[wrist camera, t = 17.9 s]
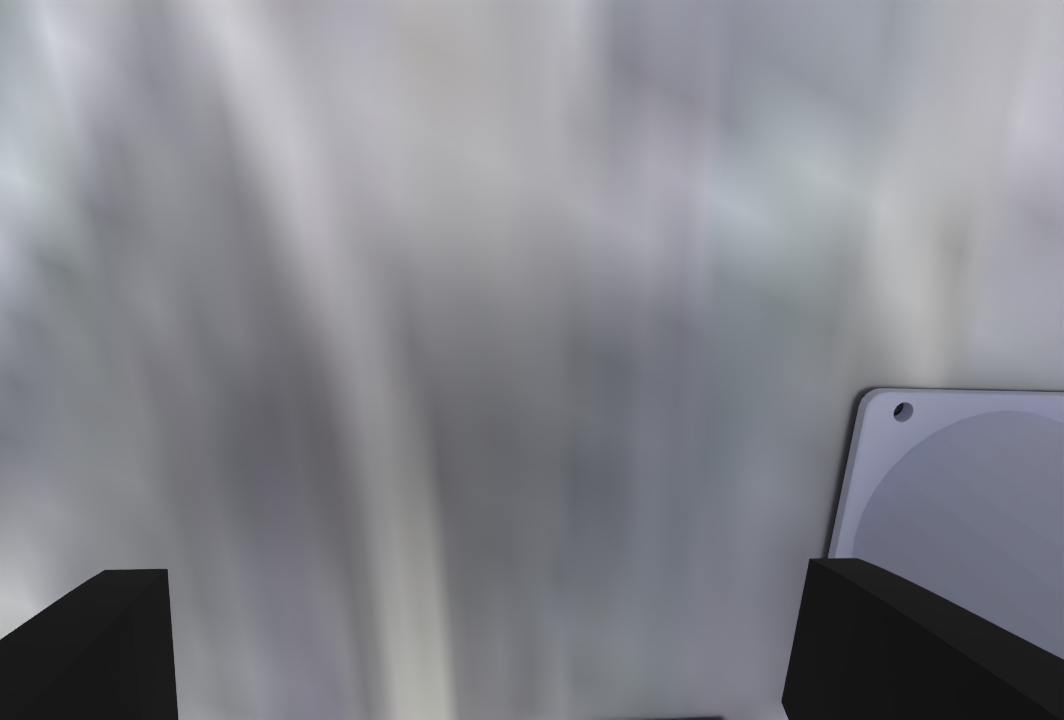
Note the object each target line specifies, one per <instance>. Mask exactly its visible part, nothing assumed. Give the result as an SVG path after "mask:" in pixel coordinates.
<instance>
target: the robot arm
mask: <svg viewBox="0 0 1064 720" xmlns="http://www.w3.org/2000/svg"><path fill="white" fill-rule="evenodd" d="M900 403H904V407H903V409H902V411H901V412H900V413H899V414H898V415H896V416H894V410H895V408H896V407H897V406H898V405H899V404H900ZM782 705H783V707H784V709H785V712H786V714H787V717H788V719H789V720H1064V392H1031V391H986V390H941V389H896V388H879V389H874V390H872V391H870V392H868V393H867V394H866V395H865V396H864V397H863V398H862V400H861V402H860V405H859V408H858V412H857V417H856V422H855V427H854V432H853V437H852V442H851V447H850V452H849V457H848V461H847V466H846V471H845V476H844V481H843V486H842V491H841V496H840V501H839V505H838V510H837V515H836V520H835V525H834V530H833V535H832V540H831V545H830V549H829V554H828V558H819V559H809V565H808V570H807V575H806V580H805V585H804V590H803V595H802V600H801V605H800V610H799V615H798V620H797V625H796V631H795V636H794V641H793V646H792V651H791V656H790V661H789V666H788V671H787V676H786V681H785V686H784V691H783V697H782ZM0 720H178V708H177V694H176V680H175V666H174V653H173V639H172V625H171V611H170V597H169V583H168V570H167V569H134V570H104V571H102V572H101V573H99V574H97V575H96V576H94V577H92V578H91V579H89V580H87V581H86V582H84V583H83V584H81V585H80V586H78V587H77V588H75V589H74V590H72V591H71V592H69V593H68V594H66V595H65V596H63V597H62V598H60V599H59V600H57V601H56V602H54V603H53V604H51V605H50V606H48V607H47V608H46V609H44V610H43V611H41V612H40V613H38V614H37V615H35V616H34V617H33V618H31V619H30V620H28V621H27V622H25V623H24V624H22V625H21V626H19V627H18V628H17V629H15V630H14V631H12V632H11V633H9V634H8V635H6V636H5V637H4V638H2V639H1V640H0Z"/></svg>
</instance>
